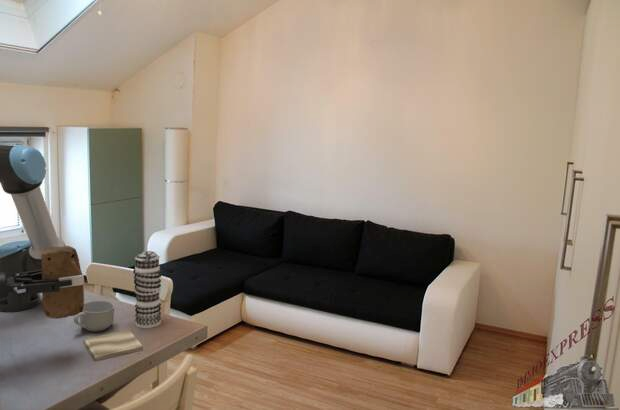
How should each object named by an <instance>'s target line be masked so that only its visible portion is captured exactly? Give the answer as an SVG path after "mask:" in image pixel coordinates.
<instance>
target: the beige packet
mask: <svg viewBox="0 0 620 410" xmlns="http://www.w3.org/2000/svg"><path fill="white" fill-rule="evenodd" d="M83 344H84V345H85V347H86V349H87V350H88V352H89V355H91V357H92V358H93V360H94V361H95V362H96V361H100V360H101V361H102V360H106V359H110V358H115V357H118V356H122V355H127V354H131V353H136V352H140V351H143V350H144V345H143V344H142V343H141V342H140V341H139V340H138V338H137V337H136V336H135V335H134V334H133V332H131V330H130V329H125V330H122V331H116V332H112V333H108V334H103V335H98V336H93V337H89V338H84V339H83Z"/></svg>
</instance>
